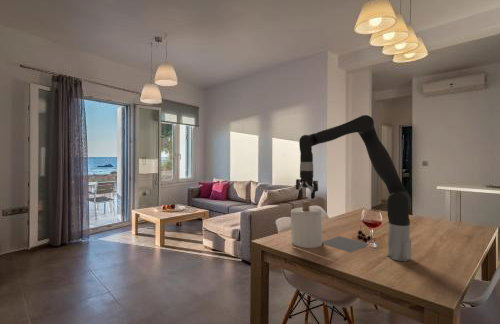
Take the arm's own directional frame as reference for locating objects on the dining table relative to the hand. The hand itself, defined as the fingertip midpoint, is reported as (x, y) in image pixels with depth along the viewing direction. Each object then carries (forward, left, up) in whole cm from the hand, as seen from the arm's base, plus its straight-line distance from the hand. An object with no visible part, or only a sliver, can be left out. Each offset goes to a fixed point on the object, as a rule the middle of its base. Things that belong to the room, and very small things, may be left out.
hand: (306, 198), depth 157 cm
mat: (-15, -15, -27) cm, 34 cm away
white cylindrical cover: (0, 0, -26) cm, 26 cm away
